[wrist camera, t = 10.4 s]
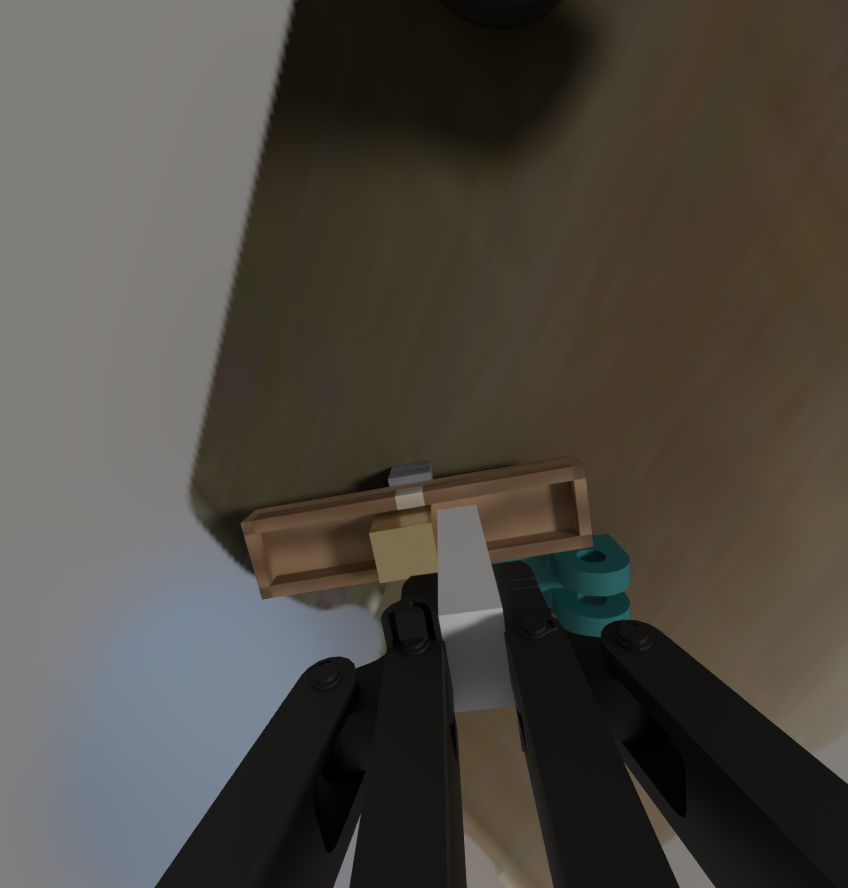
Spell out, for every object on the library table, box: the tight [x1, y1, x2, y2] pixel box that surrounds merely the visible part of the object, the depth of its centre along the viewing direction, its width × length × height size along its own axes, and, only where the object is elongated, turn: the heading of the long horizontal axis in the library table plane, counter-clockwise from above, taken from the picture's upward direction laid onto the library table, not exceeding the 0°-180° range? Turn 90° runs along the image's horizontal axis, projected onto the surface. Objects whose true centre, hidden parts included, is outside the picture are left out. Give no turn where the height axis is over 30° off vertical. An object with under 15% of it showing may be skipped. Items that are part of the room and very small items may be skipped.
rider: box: [369, 504, 438, 583], centre depth 36 cm, size 4×5×5 cm
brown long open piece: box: [241, 456, 593, 599], centre depth 41 cm, size 9×30×8 cm, turn 100°
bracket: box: [491, 535, 630, 637], centre depth 43 cm, size 18×7×8 cm, turn 96°
